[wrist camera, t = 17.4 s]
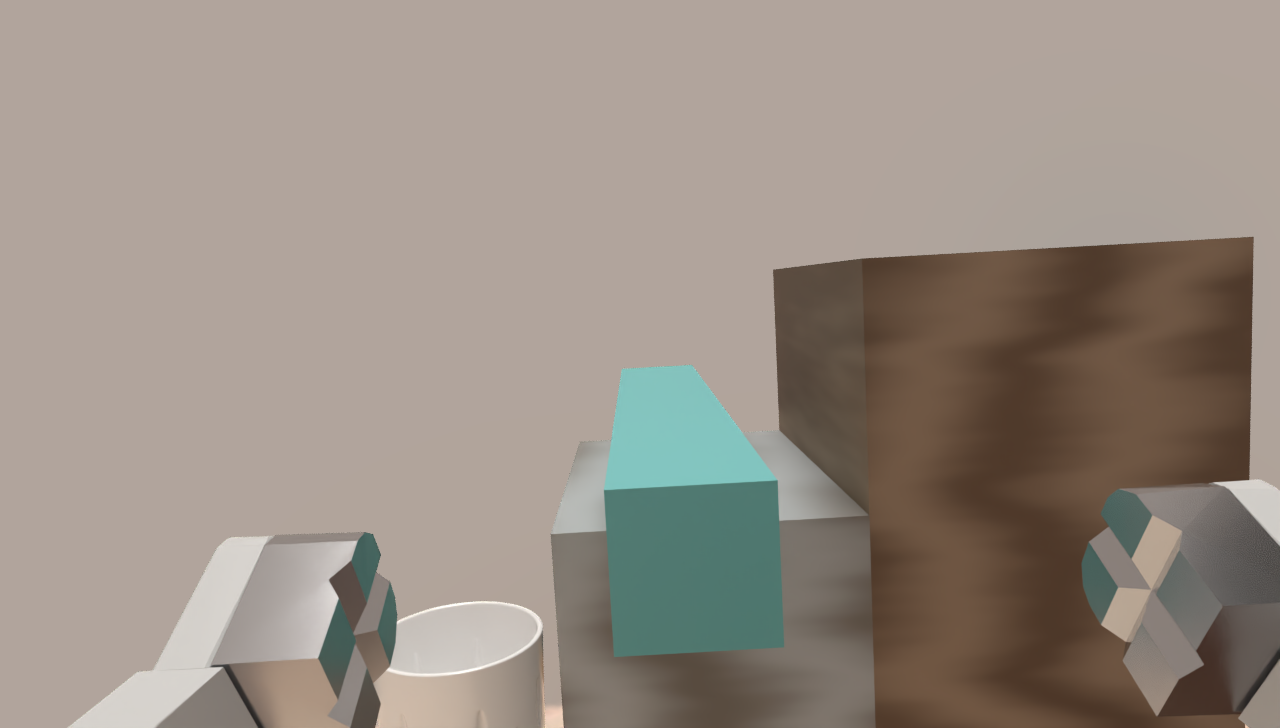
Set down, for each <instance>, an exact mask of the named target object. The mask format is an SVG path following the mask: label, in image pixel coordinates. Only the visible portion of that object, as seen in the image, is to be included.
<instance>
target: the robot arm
mask: <svg viewBox="0 0 1280 728" xmlns="http://www.w3.org/2000/svg"><path fill="white" fill-rule="evenodd" d="M1101 516H1102V517H1103V519H1104V520H1105V522H1106V524H1107V525H1108V528H1106V529H1105V530H1104V531H1102V532H1101V533H1100V534H1098V535H1097V536H1096V537H1094V538H1093V539H1092V540H1091V541H1089V543H1088V546H1087V549H1086V551H1085V554H1084V557H1083V560H1082V578H1083V588H1084V591H1085V593H1086V596H1087V599H1088V602H1089V605H1090V607H1091V609H1092V610H1093V612H1094V614H1095V615H1096V617H1097V619H1098V621H1099V622H1100V624H1101V625H1102V626H1103V627H1105V628H1106V629H1108V630H1109V631H1111V632H1112V633H1114V634H1115V635H1116V636H1118V637H1119V638H1121V639H1122V640H1124V641H1125V642H1126V643H1125V649H1124V655H1123V662H1124V664H1125V665H1126V667H1127V669H1128V670H1129V672H1130V674H1131V675H1132V677H1133V678H1134V680H1135V682H1136V683H1137V685H1138V687H1139V688H1140V690H1141V692H1142V693H1143V695H1144V696H1145V698H1146V700H1147V701H1148V703H1149V705H1150V706H1151V708H1152V709H1153V711H1154V713H1155V714H1156V716H1157V717H1166V716H1198V715H1230V714H1241V715H1240V716H1239V718H1238V719H1239V720H1241V721H1242V722H1243V723H1244V724H1246V725H1247V726H1248V727H1249V728H1280V491H1279V490H1278V489H1277V488H1275V487H1274V486H1272V485H1270V484H1268V483H1266V482H1264V481H1262V480H1245V481H1229V482H1214V483H1209V484H1206V483H1195V484H1180V485H1166V486H1151V487H1136V488H1121V489H1117V490H1116V491H1115V492H1114V493H1112V494H1111V495H1110V496H1109V497H1108V498H1107V500H1106V502H1105V505H1104V507H1103V509H1102V511H1101ZM380 556H381V554H380V551H379V549H378V546H377V543H376V541H375V538H374V536H373V534H370V533H366V532H361V533H360V532H358V533H326V534H296V535H295V534H294V535H275V536H257V537H230V538H228V539H227V540H226V541H224V542H223V543H222V544H221V545H220V546H219V547H218V548H217V549H216V550H215V552H214V554H213V556H212V558H211V560H210V562H209V564H208V565H207V567H206V569H205V571H204V573H203V575H202V577H201V579H200V581H199V583H198V584H197V586H196V588H195V590H194V592H193V594H192V596H191V598H190V600H189V602H188V604H187V606H186V607H185V610H184V611H183V613H182V615H181V617H180V619H179V621H178V623H177V625H176V627H175V629H174V630H173V632H172V635H171V636H170V638H169V640H168V642H167V644H166V646H165V648H164V650H163V652H162V654H161V656H160V657H159V659H158V661H157V663H156V665H155V667H154V669H153V670H152V671H141V672H137V673H135V674H134V675H133V676H132V677H130V678H129V679H128V680H127V681H126V682H124V683H123V684H122V685H120V686H119V687H118V688H117V689H116V690H114V691H113V692H112V693H111V694H109V695H108V696H107V697H106V698H104V699H103V700H102V701H100V702H99V703H98V704H97V705H95V706H94V707H93V708H92V709H90V710H89V711H88V712H87V713H85V714H84V715H83V716H82V717H80V718H79V719H78V720H77V721H75V723H73V724H72V725H70V726H69V727H68V728H375V725H376V721H377V718H378V714H379V710H380V706H381V703H380V700H379V697H378V695H377V692H376V689H375V687H374V684H373V683H374V682H375V681H376V680H377V679H378V678H379V677H380V676H381V675H382V674H383V673H384V672H385V671H386V670H387V669H388V668H389V667H390V665H391V660H392V656H393V652H394V647H395V643H396V627H397V611H396V603H395V596H394V593H393V590H392V587H391V583H390V581H388V580H387V579H385V578H384V577H382V576H381V575H380V574H378V573H377V572H376V570H377V567H378V563H379V560H380Z"/></svg>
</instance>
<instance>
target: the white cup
mask: <svg viewBox="0 0 1280 728" xmlns="http://www.w3.org/2000/svg"><path fill="white" fill-rule="evenodd" d="M373 684H374V687H375V689H376V692H377V695H378V697H379V700H380V703H381V706H380V710H379V714H378V718H377V719H378V726H379V728H545V704H544V666H543V625H542V621H541V619H540V618H539V616H538V615H537V614H535V613H534V612H533V611H531V610H529V609H527V608H525V607H522V606H519V605H515V604H509V603H503V602H492V601H479V602H465V603H456V604H450V605H444V606H439V607H436V608H431V609H428V610H424V611H421V612H418V613H415V614H412V615H410V616H407V617H405V618H403V619H401V620H399V621H397V627H396V643H395V647H394V652H393V656H392V660H391V665H390V667H389V668H388V669H387V670H386V671H385V672H384V673H383V674H382V675H381V676H380V677H379V678H378V679H377V680H376V681H375V682H374V683H373Z"/></svg>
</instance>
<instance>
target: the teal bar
mask: <svg viewBox="0 0 1280 728" xmlns="http://www.w3.org/2000/svg"><path fill="white" fill-rule="evenodd" d="M604 501H605V517H606V534H607V550H608V567H609V583H610V599H611V616H612V632H613V648H614V657H624V656H642V655H659V654H677V653H695V652H712V651H730V650H747V649H765V648H783V647H784V628H783V603H782V578H781V552H780V527H779V502H778V480H777V479H776V477H775V476H774V475H773V473H772V472H771V471H770V469H769V468H768V467H767V465H766V464H765V463H764V461H763V460H762V459H761V457H760V456H759V455H758V453H757V452H756V451H755V449H754V448H753V447H752V445H751V444H750V443H749V441H748V440H747V438H746V437H745V436H744V434H743V433H742V432H741V431H740V429H739V428H738V426H737V425H736V424H735V422H734V421H733V420H732V418H731V417H730V416H729V414H728V413H727V412H726V410H725V409H724V408H723V406H722V405H721V404H720V402H719V401H718V400H717V398H716V397H715V396H714V394H713V393H712V391H711V390H710V389H709V387H708V386H707V385H706V383H705V382H704V381H703V379H702V378H701V377H700V375H699V374H698V373H697V371H696V370H695V369H694V367H693V366H692V365H684V366H667V367H649V368H631V369H622V373H621V379H620V386H619V393H618V399H617V406H616V413H615V419H614V426H613V432H612V439H611V446H610V452H609V459H608V466H607V472H606V479H605V486H604Z"/></svg>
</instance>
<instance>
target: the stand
mask: <svg viewBox="0 0 1280 728" xmlns="http://www.w3.org/2000/svg"><path fill="white" fill-rule="evenodd" d="M773 276H774V300H775V301H774V302H775V327H776V351H777V352H776V353H777V378H778V404H779V428H780V430H779V431H762V432H744V433H743V434H744V436H745V437H746V438H747V440H748V441H749V443H750V444H751V445H752V447H753V448H754V449H755V451H756V452H757V453H758V455H759V456H760V457H761V459H762V460H763V461H764V463H765V464H766V465H767V467H768V468H769V469H770V471H771V472H772V473H773V475H774V476H775V477H776V479H777V480H778V502H779V527H780V552H781V578H782V603H783V628H784V647H783V648H765V649H747V650H730V651H712V652H695V653H677V654H659V655H642V656H624V657H614V648H613V632H612V616H611V599H610V583H609V567H608V550H607V534H606V517H605V501H604V486H605V479H606V472H607V466H608V459H609V452H610V446H611V440H605V441H588V442H580V444H579V447H578V450H577V453H576V456H575V459H574V462H573V466H572V469H571V472H570V475H569V478H568V482H567V485H566V488H565V491H564V494H563V497H562V500H561V503H560V507H559V510H558V513H557V516H556V519H555V522H554V526H553V529H552V532H551V545H552V559H553V574H554V589H555V603H556V618H557V632H558V647H559V662H560V676H561V692H562V706H563V721H564V728H1245V724H1244V723H1243V722H1242V721H1241V720H1239V719H1238V718H1239V716H1240V715H1241V714H1230V715H1198V716H1166V717H1157V716H1156V714H1155V713H1154V711H1153V709H1152V708H1151V706H1150V705H1149V703H1148V701H1147V700H1146V698H1145V696H1144V695H1143V693H1142V692H1141V690H1140V688H1139V687H1138V685H1137V683H1136V682H1135V680H1134V678H1133V677H1132V675H1131V674H1130V672H1129V670H1128V669H1127V667H1126V665H1125V664H1124V662H1123V655H1124V649H1125V643H1126V642H1125V641H1124V640H1122V639H1121V638H1119V637H1118V636H1116V635H1115V634H1114V633H1112V632H1111V631H1109V630H1108V629H1106V628H1105V627H1103V626H1102V625H1101V624H1100V622H1099V621H1098V619H1097V617H1096V615H1095V614H1094V612H1093V610H1092V609H1091V607H1090V605H1089V602H1088V599H1087V596H1086V593H1085V591H1084V588H1083V578H1082V560H1083V557H1084V554H1085V551H1086V549H1087V546H1088V543H1089V541H1091V540H1092V539H1093V538H1094V537H1096V536H1097V535H1098V534H1100V533H1101V532H1102V531H1104V530H1105V529H1106V528H1108V525H1107V524H1106V522H1105V520H1104V519H1103V517H1102V516H1101V511H1102V509H1103V507H1104V505H1105V502H1106V500H1107V498H1108V497H1109V496H1110V495H1111V494H1112V493H1114V492H1115V491H1116V490H1117V489H1121V488H1136V487H1151V486H1166V485H1180V484H1195V483H1206V484H1209V483H1214V482H1229V481H1245V480H1249V464H1250V463H1249V462H1250V409H1251V403H1250V402H1251V353H1252V350H1251V349H1252V347H1251V346H1252V296H1253V295H1252V294H1253V237H1243V238H1225V239H1208V240H1189V241H1171V242H1155V243H1135V244H1118V245H1100V246H1083V247H1064V248H1048V249H1047V248H1046V249H1028V250H1010V251H993V252H974V253H956V254H938V255H921V256H902V257H884V258H866V259H856V260H848V261H840V262H832V263H825V264H816V265H808V266H800V267H792V268H784V269H776V270H773Z"/></svg>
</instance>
